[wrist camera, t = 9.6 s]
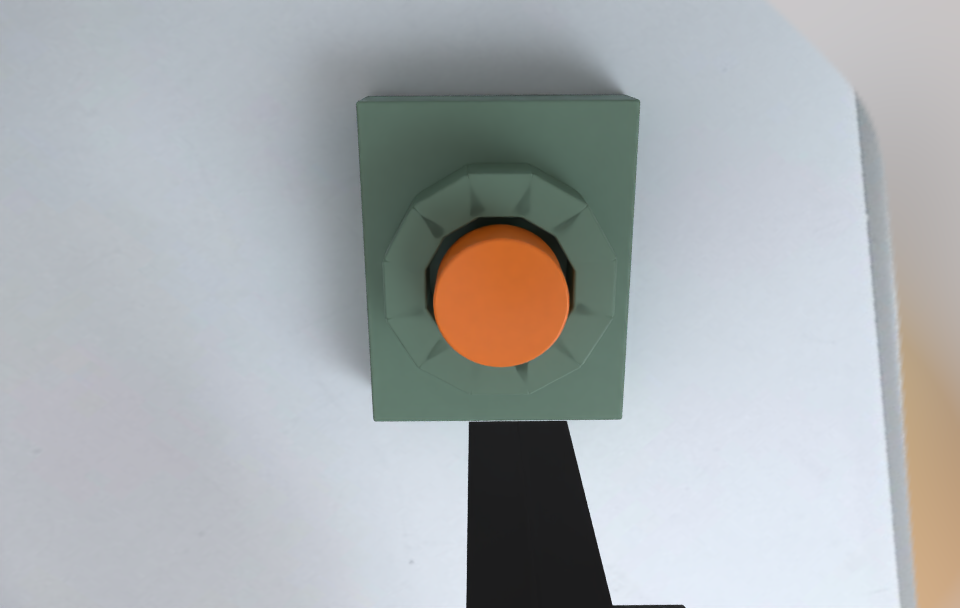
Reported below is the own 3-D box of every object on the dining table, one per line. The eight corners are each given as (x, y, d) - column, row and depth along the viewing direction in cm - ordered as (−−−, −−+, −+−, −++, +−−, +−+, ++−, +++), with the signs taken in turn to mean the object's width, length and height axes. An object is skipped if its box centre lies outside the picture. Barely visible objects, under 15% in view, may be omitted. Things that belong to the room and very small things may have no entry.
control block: (366, 96, 24) (345, 106, 20) (626, 94, 24) (654, 104, 20) (380, 393, 27) (365, 450, 23) (611, 391, 27) (633, 447, 23)
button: (434, 224, 22) (431, 238, 20) (564, 223, 22) (572, 238, 20) (437, 345, 23) (434, 369, 21) (561, 344, 23) (567, 367, 21)
